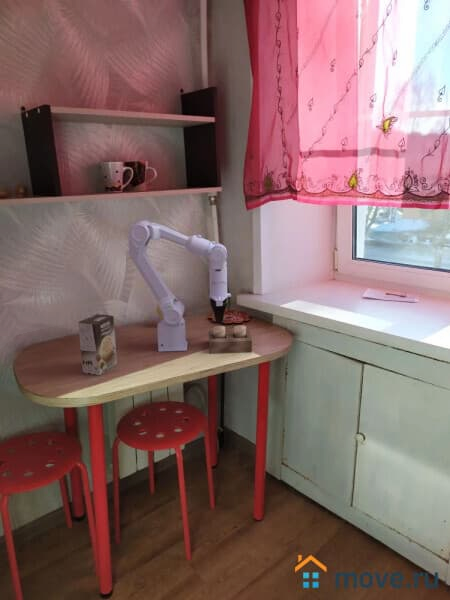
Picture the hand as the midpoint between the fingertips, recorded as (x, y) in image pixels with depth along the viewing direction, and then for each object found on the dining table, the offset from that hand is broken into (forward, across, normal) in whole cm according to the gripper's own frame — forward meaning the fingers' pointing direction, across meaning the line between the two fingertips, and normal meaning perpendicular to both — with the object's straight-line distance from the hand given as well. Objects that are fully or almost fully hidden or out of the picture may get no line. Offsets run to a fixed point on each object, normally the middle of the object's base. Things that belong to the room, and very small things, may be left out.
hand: (219, 320), depth 155 cm
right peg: (+6, 0, -7) cm, 9 cm away
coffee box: (+10, -15, +37) cm, 41 cm away
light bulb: (+10, +23, +20) cm, 32 cm away
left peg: (+6, 0, 0) cm, 6 cm away
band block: (+9, 0, -4) cm, 10 cm away
